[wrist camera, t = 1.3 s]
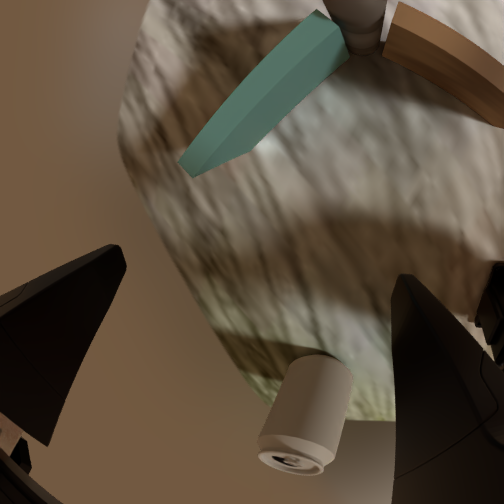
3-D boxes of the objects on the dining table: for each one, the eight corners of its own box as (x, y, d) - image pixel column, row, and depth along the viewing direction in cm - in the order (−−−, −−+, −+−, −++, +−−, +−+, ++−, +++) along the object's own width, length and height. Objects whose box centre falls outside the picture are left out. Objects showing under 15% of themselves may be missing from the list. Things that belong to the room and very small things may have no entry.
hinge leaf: (358, 13, 12) (349, -36, 6) (387, 40, 12) (399, 1, 6) (232, 133, 20) (168, 153, 13) (256, 157, 20) (201, 188, 14)
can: (277, 365, 31) (235, 453, 22) (319, 339, 27) (281, 446, 17) (323, 395, 31) (294, 480, 22) (368, 374, 27) (347, 475, 17)
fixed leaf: (335, 46, 14) (310, 5, 7) (346, 16, 12) (328, -41, 6) (490, 134, 12) (557, 161, 5) (501, 104, 11) (572, 115, 4)
